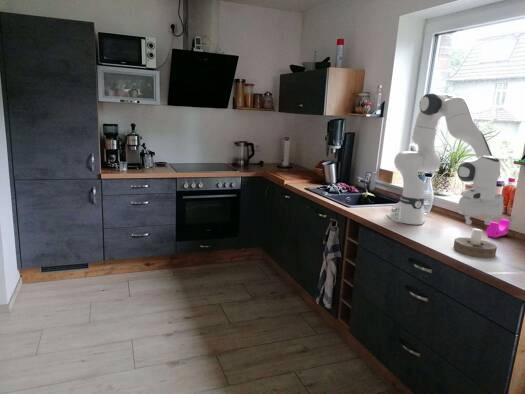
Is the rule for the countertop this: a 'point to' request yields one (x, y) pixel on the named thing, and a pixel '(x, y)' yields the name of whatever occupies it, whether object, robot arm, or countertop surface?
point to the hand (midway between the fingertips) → (477, 224)
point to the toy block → (498, 228)
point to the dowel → (476, 236)
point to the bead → (475, 248)
